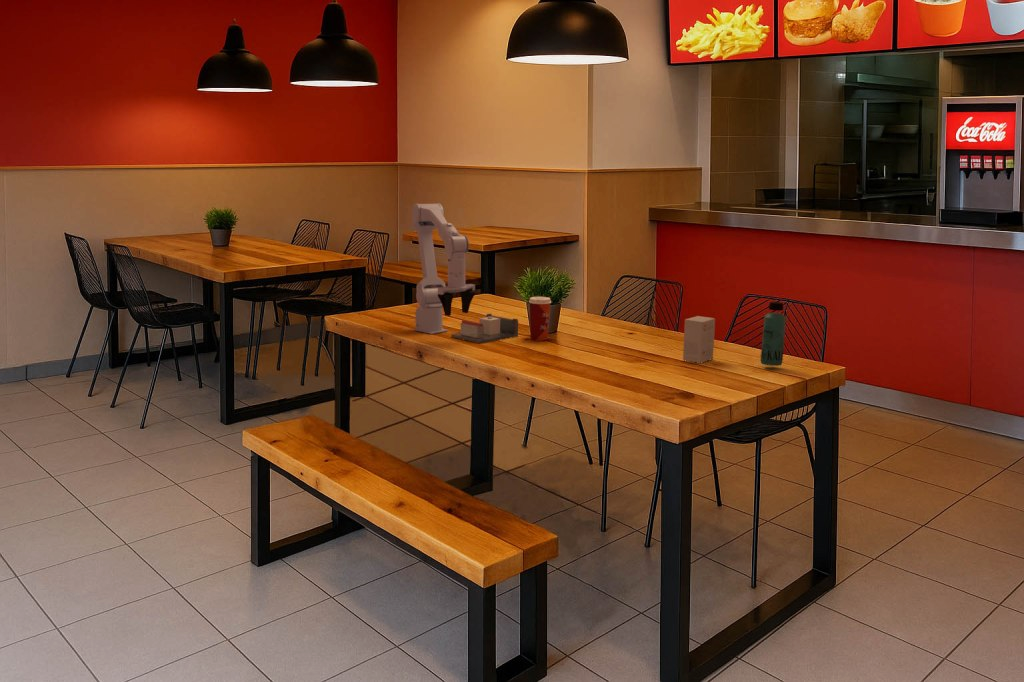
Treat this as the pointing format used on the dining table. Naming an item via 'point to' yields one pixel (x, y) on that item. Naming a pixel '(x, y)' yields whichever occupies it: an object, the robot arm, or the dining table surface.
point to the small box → (698, 339)
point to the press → (506, 331)
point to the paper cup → (539, 317)
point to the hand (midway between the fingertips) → (456, 314)
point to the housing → (490, 325)
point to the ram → (472, 329)
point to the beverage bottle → (773, 336)
